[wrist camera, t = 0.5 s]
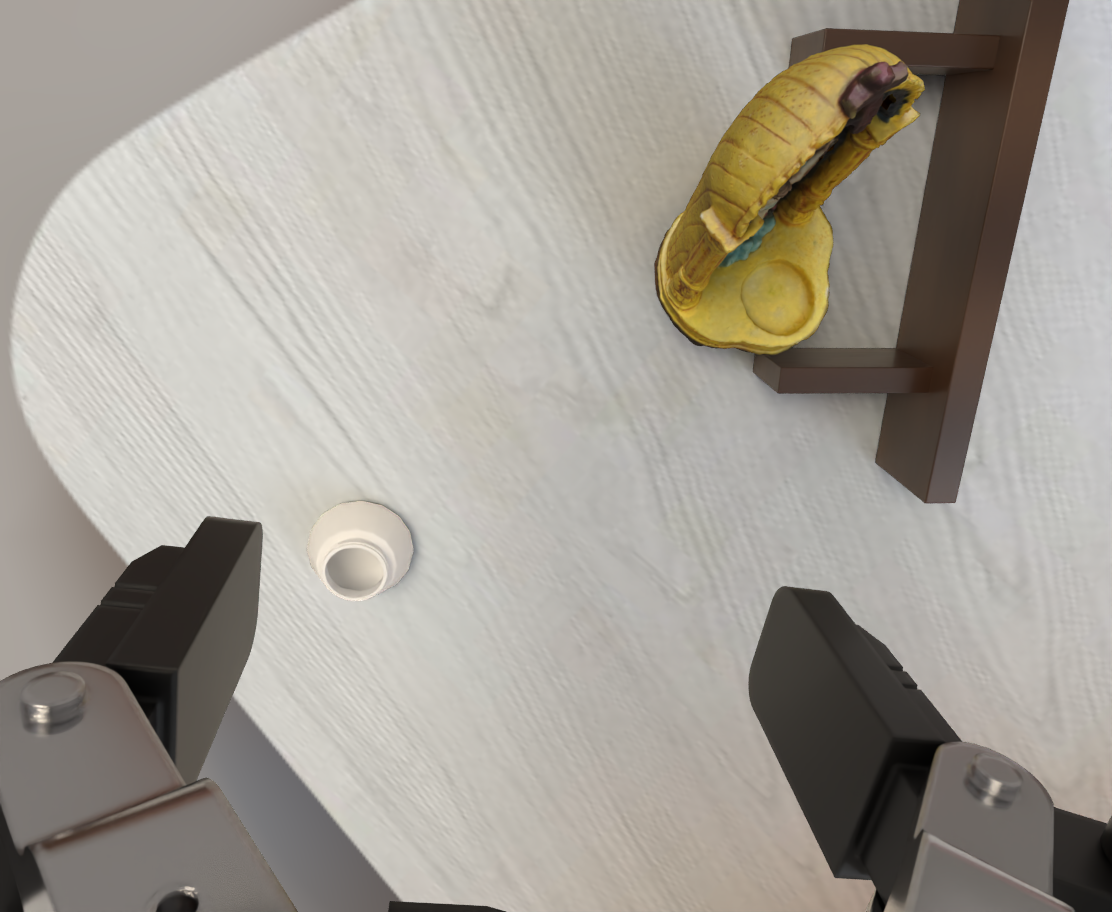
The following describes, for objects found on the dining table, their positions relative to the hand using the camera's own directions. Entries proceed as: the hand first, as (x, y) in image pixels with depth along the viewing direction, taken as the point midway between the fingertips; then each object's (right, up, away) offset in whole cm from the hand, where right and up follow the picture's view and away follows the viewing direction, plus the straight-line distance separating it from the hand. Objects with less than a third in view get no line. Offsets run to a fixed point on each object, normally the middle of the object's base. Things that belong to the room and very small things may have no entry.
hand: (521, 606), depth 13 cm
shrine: (+8, +13, +24) cm, 28 cm away
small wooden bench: (+14, +13, +24) cm, 31 cm away
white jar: (-9, -2, +28) cm, 30 cm away
